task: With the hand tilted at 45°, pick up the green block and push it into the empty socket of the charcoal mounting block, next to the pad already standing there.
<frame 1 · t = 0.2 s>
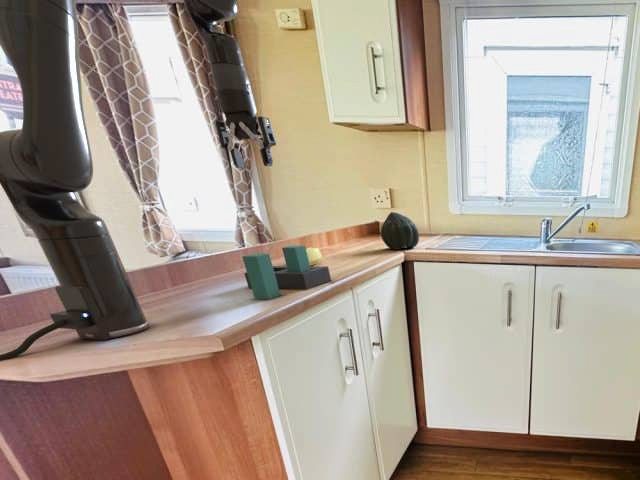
hand: (254, 167, 107), 29 cm above the countertop, tool pointing down, fingers open, 8 cm apart
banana: (301, 266, 145), on the countertop
green block: (268, 297, 102), on the countertop
squash: (401, 249, 177), on the countertop
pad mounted: (303, 284, 115), resting in mount
mount: (290, 284, 116), on the countertop
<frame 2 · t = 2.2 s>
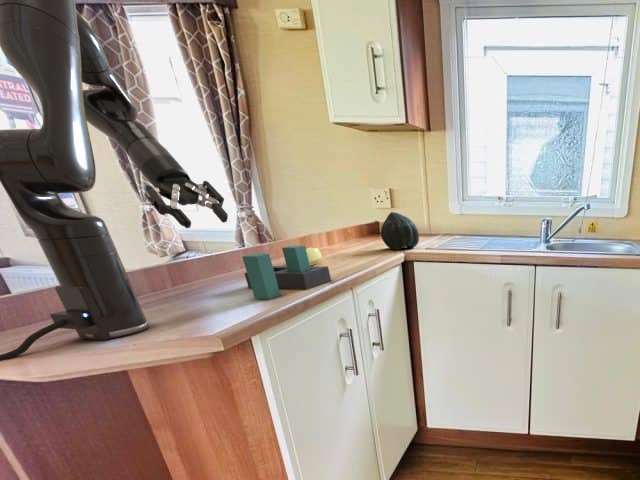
hand: (208, 222, 98), 17 cm above the countertop, tool tilted 40°, fingers open, 8 cm apart
nothing on the countertop moved.
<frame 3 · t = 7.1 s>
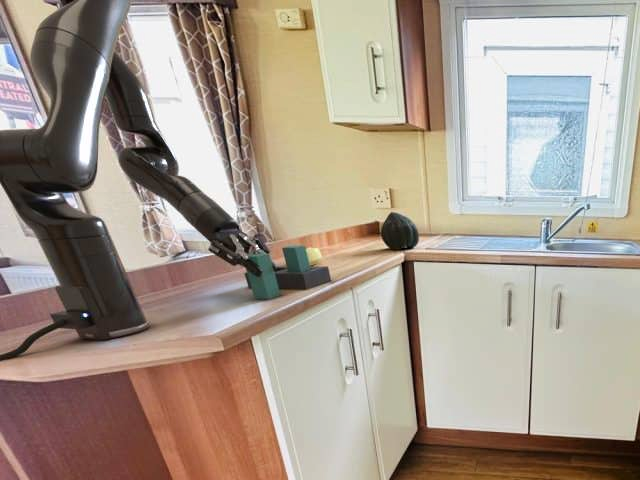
hand: (267, 272, 99), 6 cm above the countertop, tool tilted 45°, fingers closed on green block, 4 cm apart
green block: (268, 297, 102), on the countertop, touching gripper
everything else where it was.
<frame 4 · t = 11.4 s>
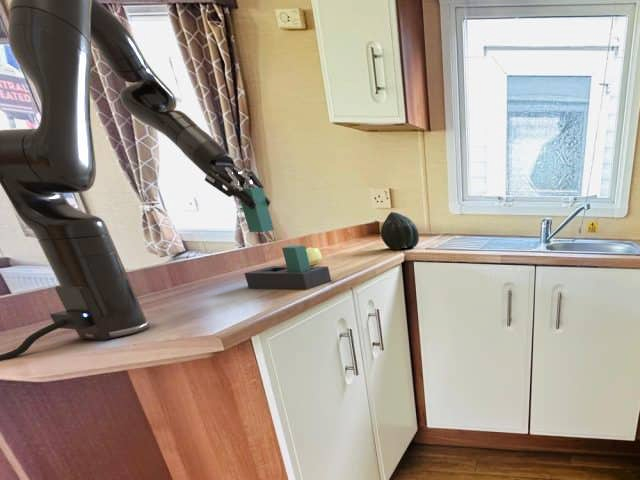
hand: (261, 205, 105), 20 cm above the countertop, tool tilted 45°, fingers closed on green block, 4 cm apart
green block: (261, 231, 108), point 14 cm above the countertop, touching gripper
everything else where it was.
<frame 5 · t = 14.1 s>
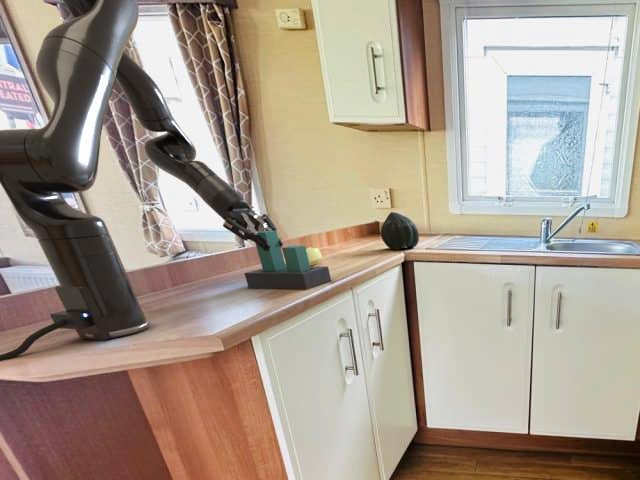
hand: (274, 247, 112), 10 cm above the countertop, tool tilted 45°, fingers closed on green block, 4 cm apart
green block: (274, 270, 115), point 4 cm above the countertop, touching gripper
everything else where it was.
when the fingers open (6 cm above the countertop, at t = 15.9 s): green block stays where it is, resting in mount.
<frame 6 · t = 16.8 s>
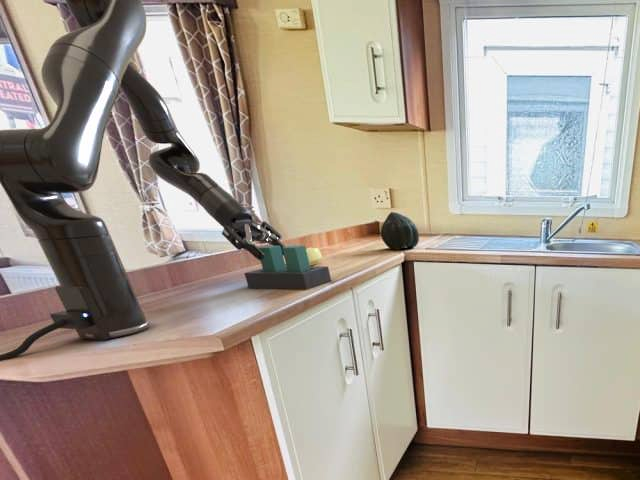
hand: (274, 255, 113), 8 cm above the countertop, tool tilted 45°, fingers open, 8 cm apart
green block: (278, 284, 117), resting in mount
everything else where it was.
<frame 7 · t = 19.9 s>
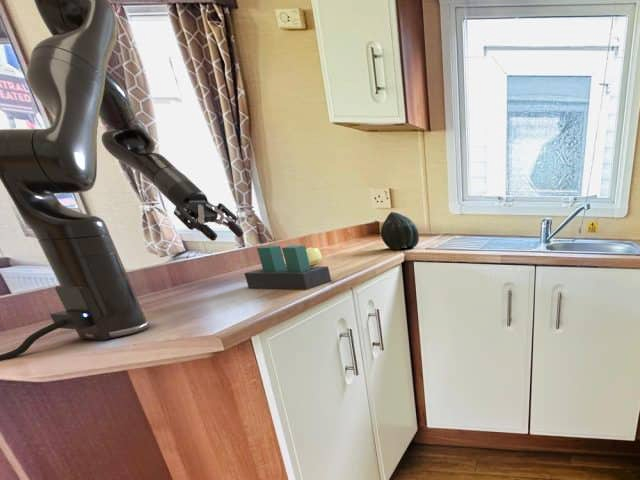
hand: (228, 236, 114), 13 cm above the countertop, tool tilted 45°, fingers open, 8 cm apart
nothing on the countertop moved.
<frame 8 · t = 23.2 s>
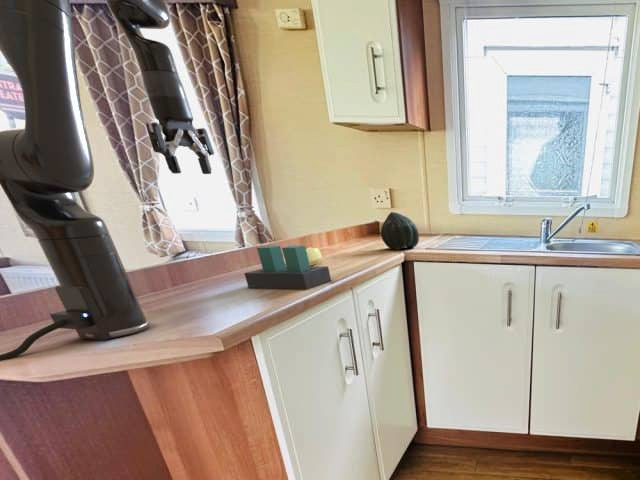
hand: (192, 173, 106), 28 cm above the countertop, tool pointing down, fingers open, 8 cm apart
nothing on the countertop moved.
at the end: green block 0.1 cm from the target spot, resting in mount; green block tilted 0°; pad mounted tilted 0° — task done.
